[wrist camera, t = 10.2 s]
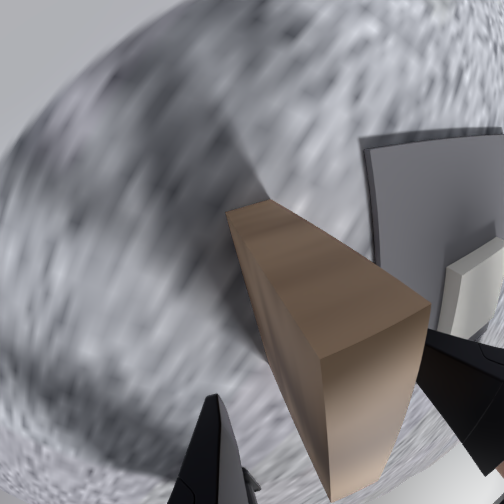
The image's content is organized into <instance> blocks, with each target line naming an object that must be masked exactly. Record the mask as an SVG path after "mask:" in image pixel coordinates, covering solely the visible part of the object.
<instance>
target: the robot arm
mask: <svg viewBox="0 0 504 504" xmlns="http://www.w3.org/2000/svg"><path fill="white" fill-rule="evenodd" d="M416 383H417V384H418V385H419V387H420V388H421V389H422V390H423V392H424V393H425V394H426V396H427V397H428V398H429V400H430V401H431V402H432V403H433V405H434V406H435V407H436V409H437V410H438V411H439V413H440V414H441V415H442V417H443V418H444V419H445V421H446V422H447V424H448V425H449V426H450V428H451V429H452V430H453V432H454V433H455V434H456V436H457V437H458V439H459V440H460V441H461V443H463V446H464V447H465V448H466V450H467V452H468V453H469V454H470V456H471V457H472V459H473V460H474V462H475V463H476V465H477V466H478V467H479V469H480V470H481V472H482V473H483V475H484V476H485V477H486V476H487V475H488V474H489V473H491V472H492V471H493V470H494V469H495V468H496V467H498V466H499V465H500V464H501V463H502V462H503V461H504V349H503V348H498V347H493V346H489V345H485V344H482V343H477V342H474V341H471V340H467V339H464V338H460V337H457V336H453V335H450V334H446V333H443V332H439V331H436V330H432V329H429V328H428V329H427V335H426V340H425V345H424V349H423V354H422V358H421V363H420V367H419V371H418V375H417V378H416ZM178 476H179V477H178V478H177V480H176V483H175V486H174V488H173V491H172V493H171V496H170V498H169V500H168V502H167V504H258V503H257V500H256V497H255V493H254V492H257V491H260V490H261V487H260V485H259V484H258V483H257V482H256V481H255V479H254V478H253V477H252V476H251V474H250V473H249V472H248V471H247V470H242V467H241V461H240V456H239V450H238V446H237V442H236V439H235V436H234V432H233V429H232V426H231V423H230V419H229V416H228V413H227V410H226V407H225V405H224V403H223V402H222V400H221V398H220V396H219V395H218V394H212V395H209V396H207V397H206V398H205V401H204V404H203V407H202V410H201V412H200V415H199V418H198V421H197V424H196V427H195V430H194V432H193V435H192V438H191V441H190V444H189V447H188V449H187V452H186V455H185V458H184V461H183V463H182V466H181V469H180V472H179V475H178ZM493 504H504V493H503V494H502V496H500V498H498V499H497V500H496V501H495V502H494V503H493Z"/></svg>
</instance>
